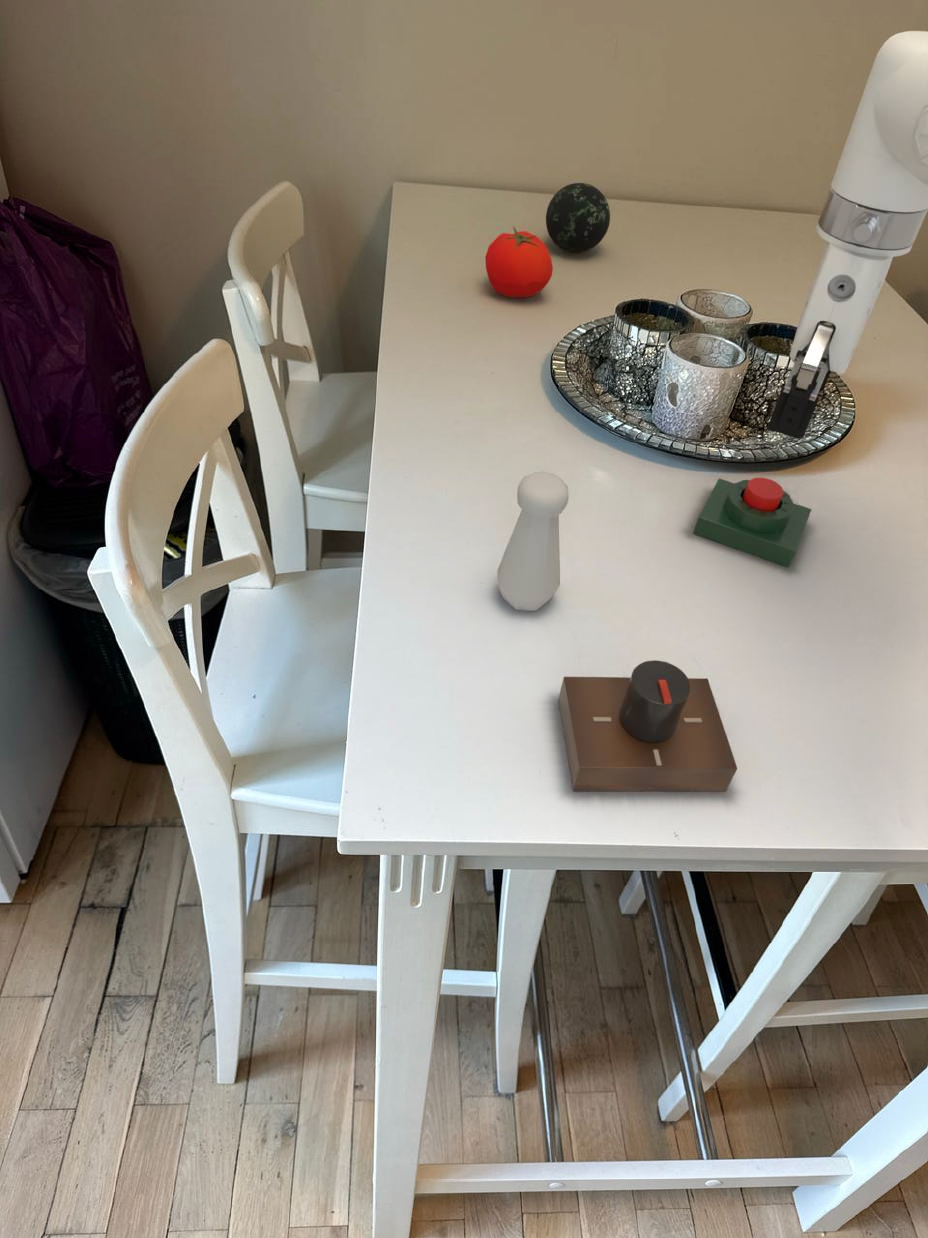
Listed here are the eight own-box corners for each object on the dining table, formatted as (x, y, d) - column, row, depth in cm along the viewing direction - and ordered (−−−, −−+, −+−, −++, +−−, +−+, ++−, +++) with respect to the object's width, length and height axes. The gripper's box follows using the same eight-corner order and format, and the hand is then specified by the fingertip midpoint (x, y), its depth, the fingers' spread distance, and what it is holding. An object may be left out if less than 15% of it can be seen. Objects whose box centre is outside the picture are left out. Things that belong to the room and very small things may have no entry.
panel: (698, 701, 74) (708, 676, 72) (726, 791, 68) (738, 767, 66) (557, 700, 73) (563, 674, 71) (573, 791, 67) (580, 766, 65)
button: (781, 498, 90) (787, 484, 89) (773, 517, 88) (779, 502, 87) (747, 487, 91) (752, 473, 90) (738, 505, 89) (743, 490, 88)
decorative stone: (603, 241, 145) (615, 177, 138) (603, 266, 138) (616, 199, 131) (542, 234, 145) (551, 170, 138) (540, 258, 138) (549, 191, 131)
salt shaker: (557, 620, 80) (582, 506, 71) (494, 616, 80) (511, 500, 71) (553, 577, 84) (576, 464, 75) (494, 573, 84) (510, 459, 75)
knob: (614, 698, 70) (627, 656, 66) (668, 698, 70) (684, 657, 67) (624, 742, 67) (638, 701, 63) (681, 743, 67) (698, 702, 64)
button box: (804, 525, 93) (818, 494, 90) (788, 567, 88) (802, 536, 85) (713, 494, 96) (723, 463, 93) (692, 533, 91) (703, 502, 88)
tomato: (503, 272, 133) (509, 215, 127) (561, 293, 130) (570, 235, 124) (468, 291, 127) (473, 232, 122) (528, 314, 124) (537, 254, 118)
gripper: (905, 268, 63) (818, 467, 75) (929, 199, 75) (851, 381, 87) (801, 242, 65) (733, 439, 77) (840, 179, 77) (776, 359, 89)
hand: (796, 408), depth 82 cm, fingers open, 9 cm apart
